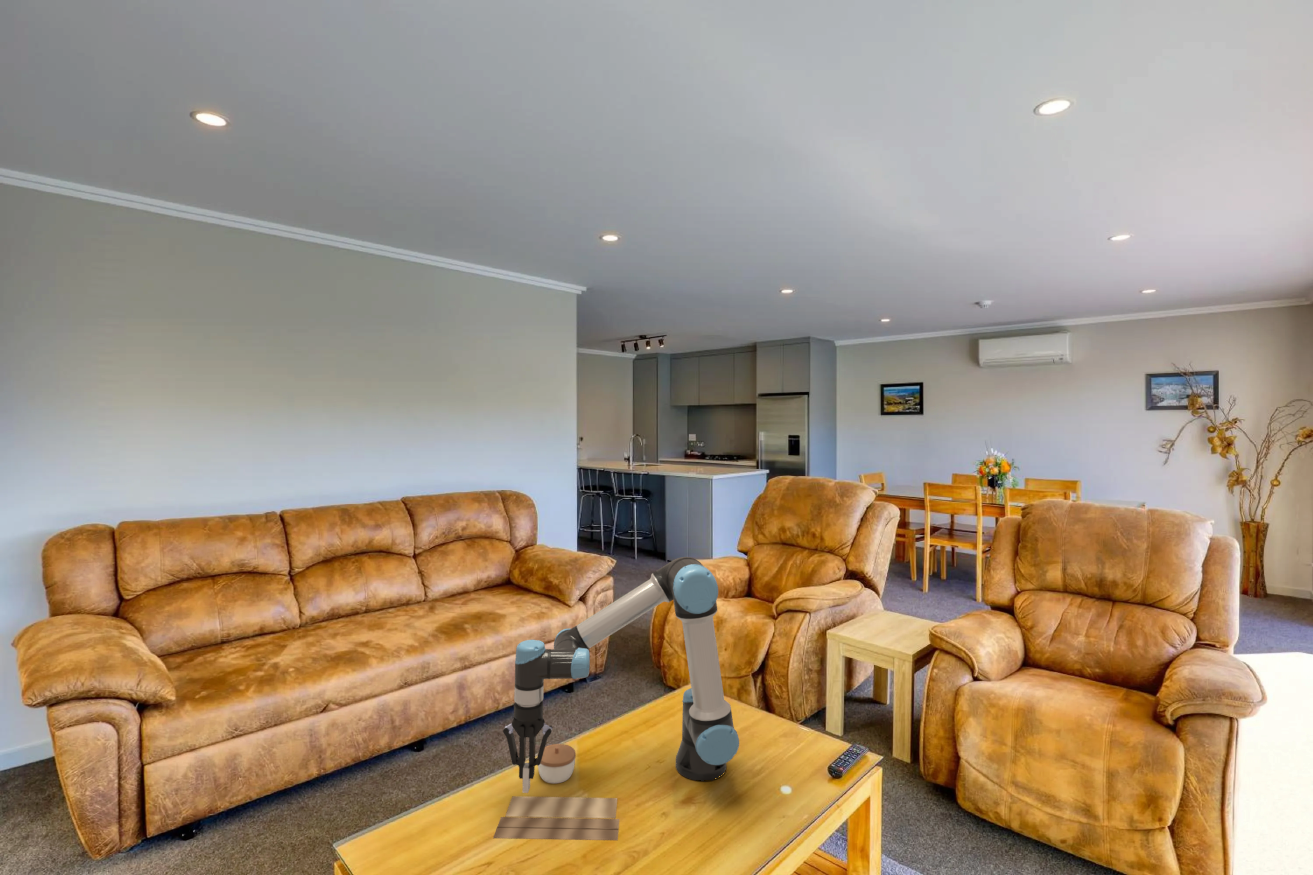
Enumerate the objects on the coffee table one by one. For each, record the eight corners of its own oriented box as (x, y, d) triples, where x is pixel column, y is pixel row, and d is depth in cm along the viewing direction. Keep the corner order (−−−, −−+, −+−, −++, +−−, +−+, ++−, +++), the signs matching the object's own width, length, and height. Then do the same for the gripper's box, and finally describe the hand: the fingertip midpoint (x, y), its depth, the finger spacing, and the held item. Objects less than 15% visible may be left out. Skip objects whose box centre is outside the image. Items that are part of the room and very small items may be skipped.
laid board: (619, 824, 155) (619, 818, 155) (617, 846, 147) (617, 839, 147) (500, 822, 155) (501, 816, 155) (492, 844, 147) (492, 837, 147)
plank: (617, 803, 164) (617, 797, 164) (615, 823, 156) (615, 818, 156) (512, 801, 163) (512, 796, 163) (505, 821, 155) (505, 816, 155)
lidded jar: (567, 793, 168) (568, 759, 168) (530, 788, 170) (531, 754, 170) (580, 772, 179) (580, 740, 179) (545, 767, 181) (546, 735, 181)
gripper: (555, 695, 165) (553, 782, 166) (507, 694, 165) (504, 780, 166) (551, 708, 158) (548, 798, 158) (500, 706, 158) (498, 797, 158)
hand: (526, 789), depth 162 cm, fingers closed
